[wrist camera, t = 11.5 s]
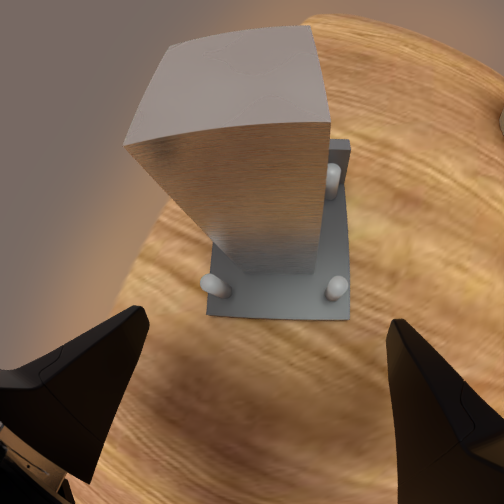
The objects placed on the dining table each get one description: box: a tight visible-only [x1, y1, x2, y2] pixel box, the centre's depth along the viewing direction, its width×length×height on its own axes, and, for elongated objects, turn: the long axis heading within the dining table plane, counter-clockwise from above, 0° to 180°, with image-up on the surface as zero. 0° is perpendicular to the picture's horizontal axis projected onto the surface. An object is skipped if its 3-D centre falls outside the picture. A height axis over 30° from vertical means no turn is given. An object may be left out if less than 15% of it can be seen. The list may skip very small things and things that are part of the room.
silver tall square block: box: [123, 26, 331, 274], centre depth 12 cm, size 4×4×13 cm
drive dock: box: [200, 139, 351, 320], centre depth 16 cm, size 10×9×5 cm
